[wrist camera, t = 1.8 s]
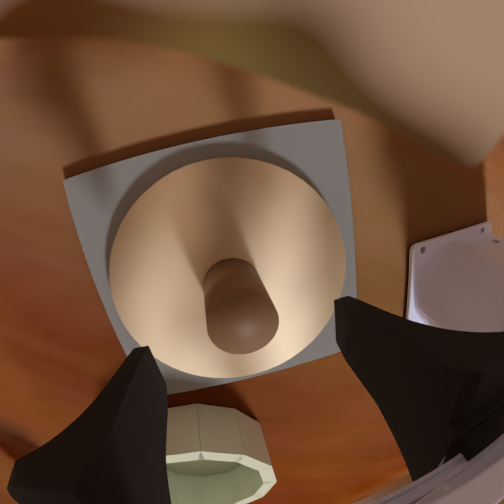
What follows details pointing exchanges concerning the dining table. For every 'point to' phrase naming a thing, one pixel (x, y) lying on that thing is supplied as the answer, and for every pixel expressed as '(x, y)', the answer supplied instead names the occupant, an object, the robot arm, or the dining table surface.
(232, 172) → the lid
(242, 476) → the bowl
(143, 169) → the mat
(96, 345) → the dining table surface
